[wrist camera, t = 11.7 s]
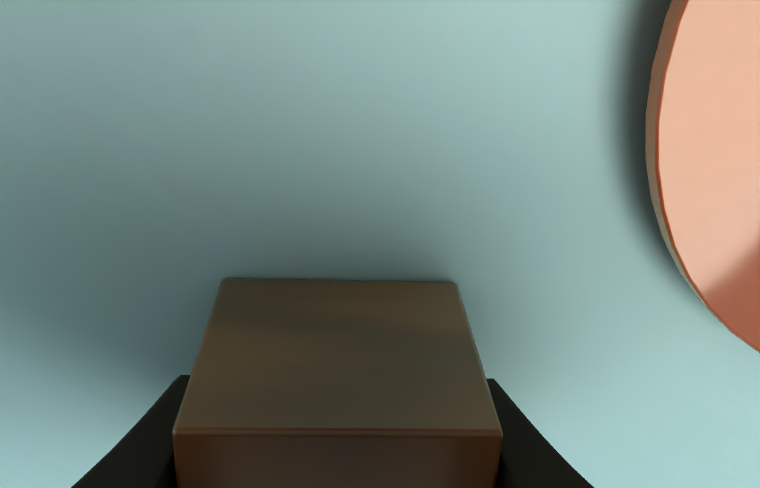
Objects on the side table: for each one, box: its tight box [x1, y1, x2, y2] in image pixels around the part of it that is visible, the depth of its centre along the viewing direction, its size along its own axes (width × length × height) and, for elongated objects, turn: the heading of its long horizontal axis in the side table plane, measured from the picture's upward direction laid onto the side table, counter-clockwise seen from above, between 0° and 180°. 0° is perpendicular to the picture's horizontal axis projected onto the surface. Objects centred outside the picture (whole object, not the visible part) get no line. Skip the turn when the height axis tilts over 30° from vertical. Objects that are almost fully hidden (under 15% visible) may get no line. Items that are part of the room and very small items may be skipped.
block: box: [172, 278, 503, 488], centre depth 12 cm, size 4×4×4 cm
